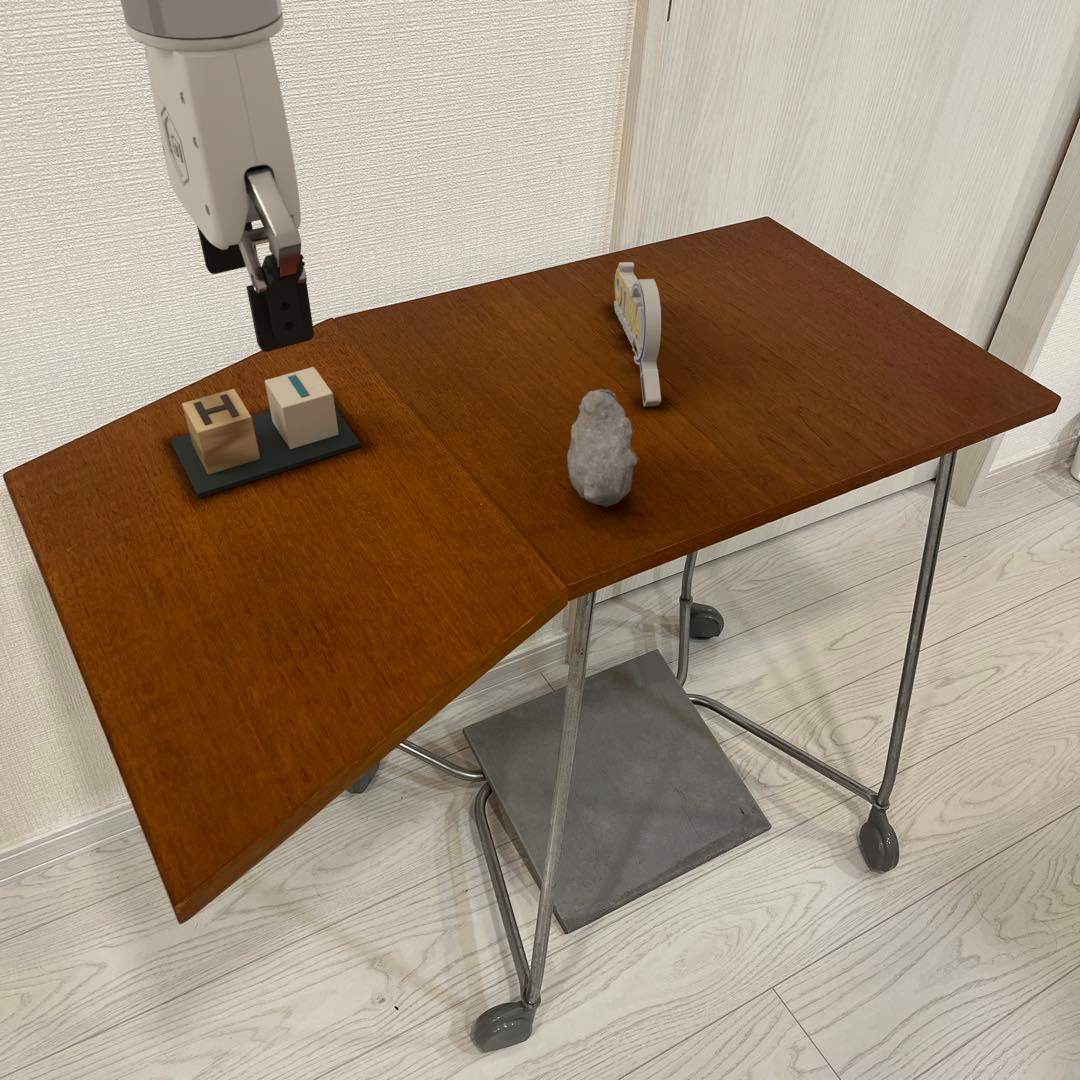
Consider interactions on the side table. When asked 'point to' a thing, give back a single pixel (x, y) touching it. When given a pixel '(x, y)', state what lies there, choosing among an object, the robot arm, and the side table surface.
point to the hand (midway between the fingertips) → (258, 303)
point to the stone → (601, 450)
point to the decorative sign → (640, 325)
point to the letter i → (302, 407)
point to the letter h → (221, 431)
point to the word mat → (261, 456)
